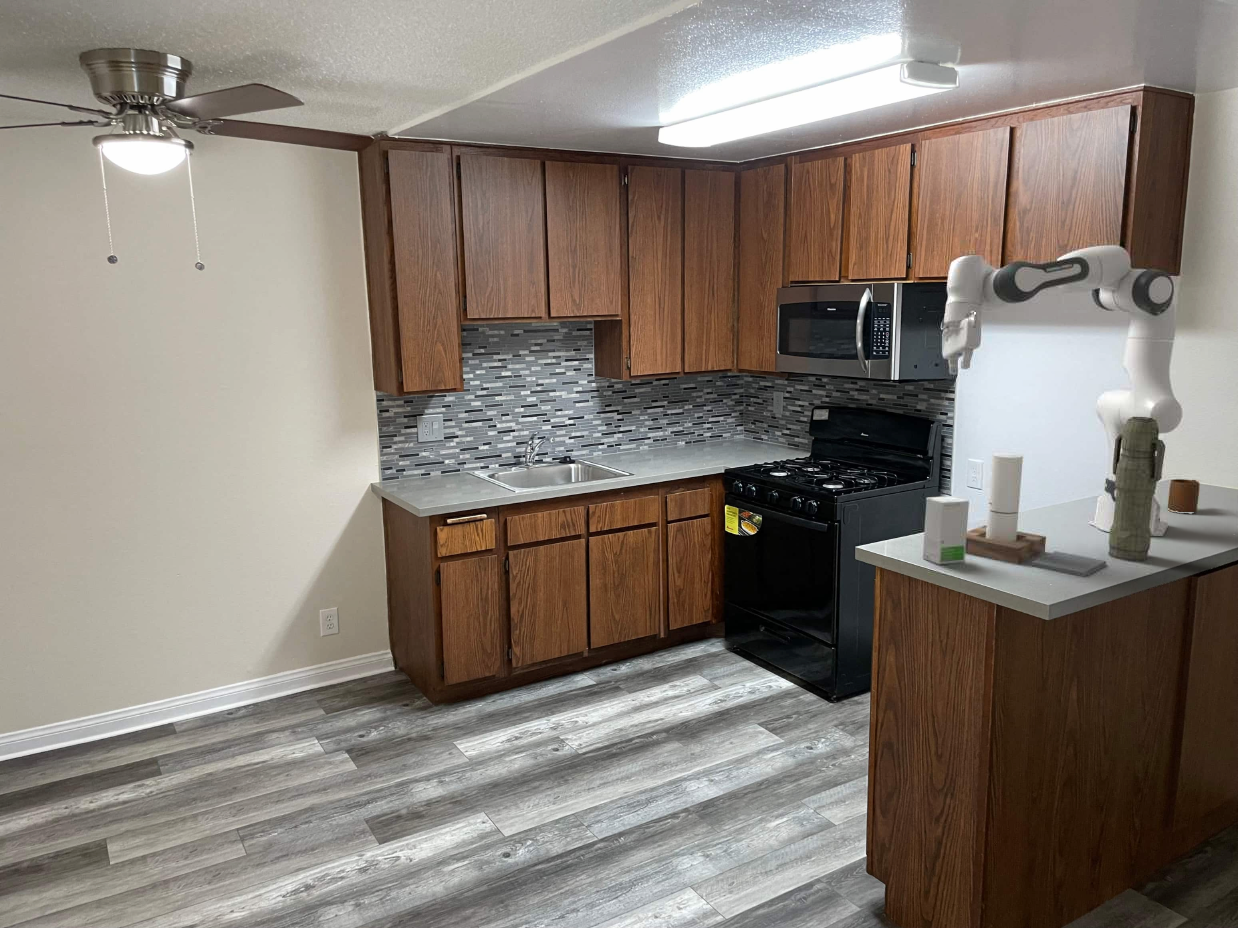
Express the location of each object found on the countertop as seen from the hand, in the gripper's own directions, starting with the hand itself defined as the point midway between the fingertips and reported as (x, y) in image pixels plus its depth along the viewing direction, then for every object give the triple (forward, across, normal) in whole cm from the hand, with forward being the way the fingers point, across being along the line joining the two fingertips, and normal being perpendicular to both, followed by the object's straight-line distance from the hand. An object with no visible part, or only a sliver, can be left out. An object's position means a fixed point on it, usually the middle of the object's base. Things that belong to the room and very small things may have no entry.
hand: (959, 371), depth 231 cm
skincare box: (+48, -5, +2) cm, 49 cm away
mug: (+29, +52, -86) cm, 104 cm away
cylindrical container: (+45, +4, -14) cm, 47 cm away
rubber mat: (+47, -8, -27) cm, 54 cm away
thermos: (+44, +1, -45) cm, 62 cm away
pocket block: (+45, +4, -14) cm, 47 cm away
